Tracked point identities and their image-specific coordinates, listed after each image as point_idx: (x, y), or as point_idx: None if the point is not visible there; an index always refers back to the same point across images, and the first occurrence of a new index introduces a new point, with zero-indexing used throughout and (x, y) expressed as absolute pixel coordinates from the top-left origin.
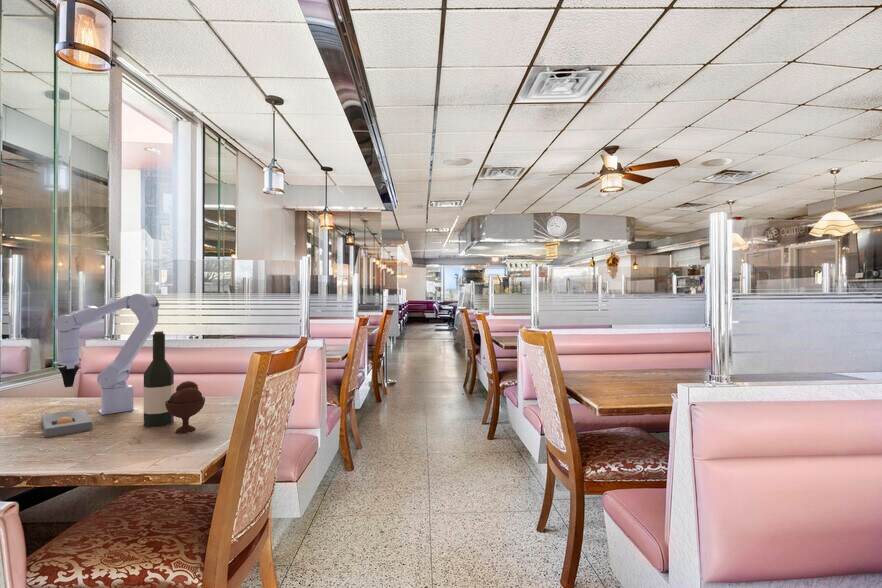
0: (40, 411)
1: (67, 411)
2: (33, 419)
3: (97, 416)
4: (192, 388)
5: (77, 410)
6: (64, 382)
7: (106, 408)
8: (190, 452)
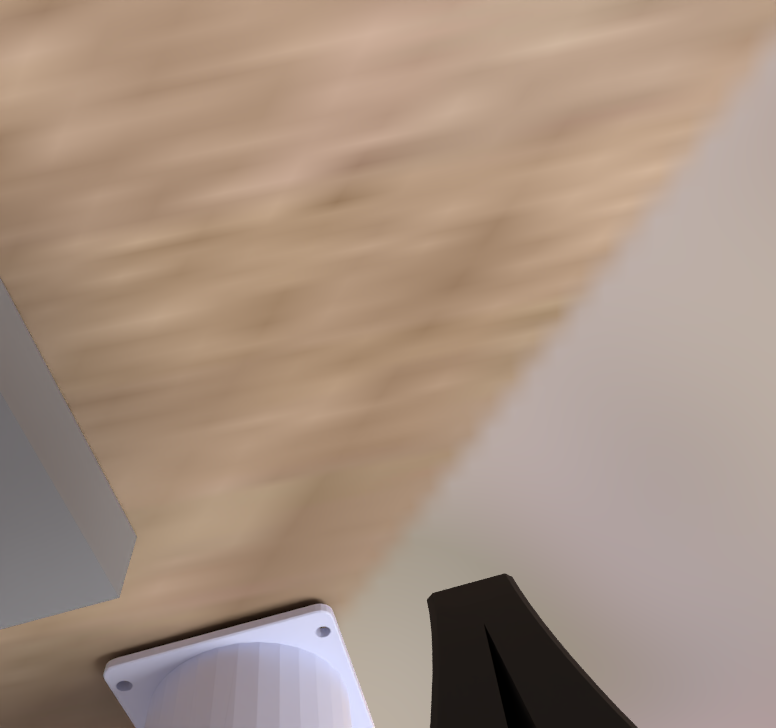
0: (757, 8)
1: (33, 475)
2: (224, 32)
3: (74, 635)
4: None
5: (53, 558)
6: (436, 692)
7: (147, 725)
8: None
